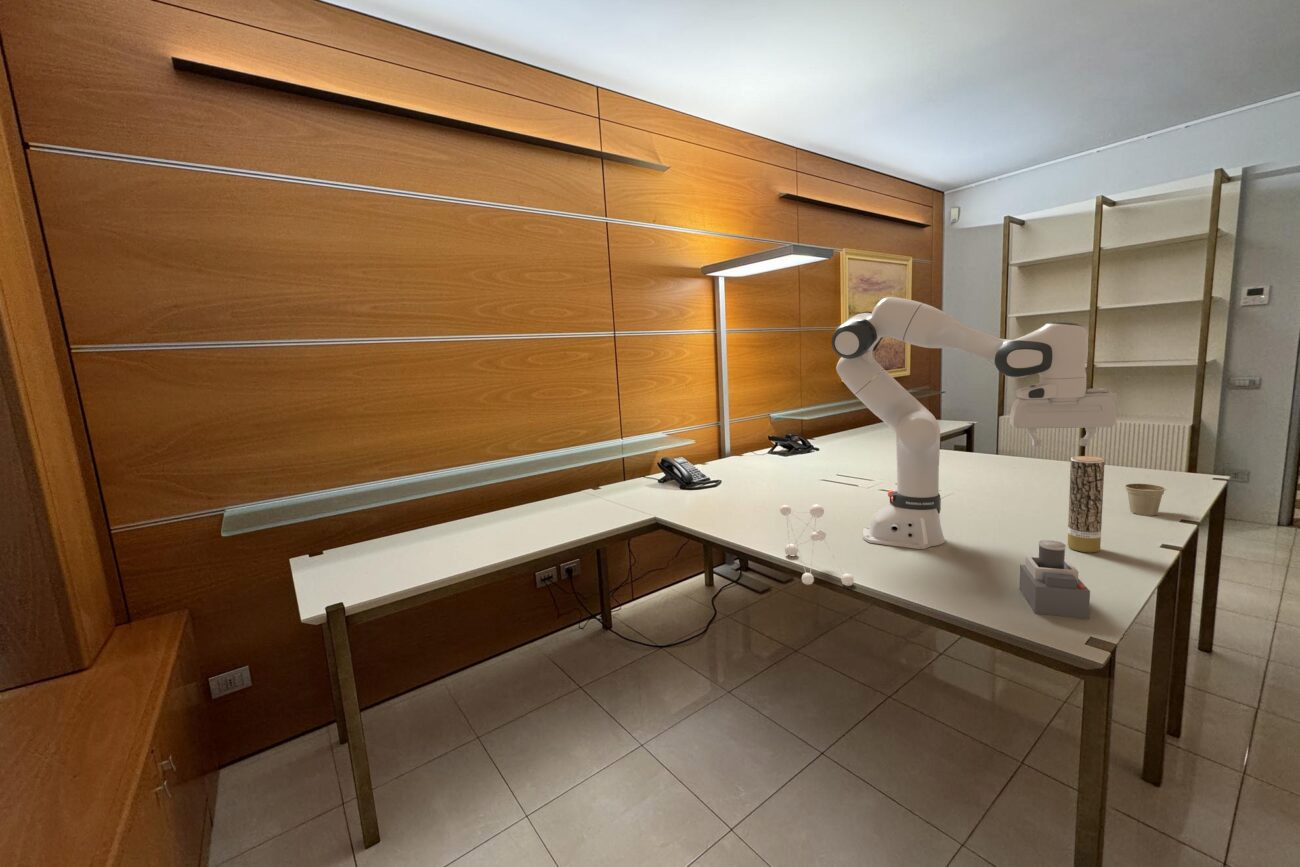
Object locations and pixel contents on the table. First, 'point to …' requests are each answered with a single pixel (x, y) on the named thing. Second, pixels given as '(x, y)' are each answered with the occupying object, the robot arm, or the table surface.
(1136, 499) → the flower pot
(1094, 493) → the paper tube
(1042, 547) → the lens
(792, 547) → the molecule model
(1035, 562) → the desk organizer caddy
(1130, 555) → the table surface
